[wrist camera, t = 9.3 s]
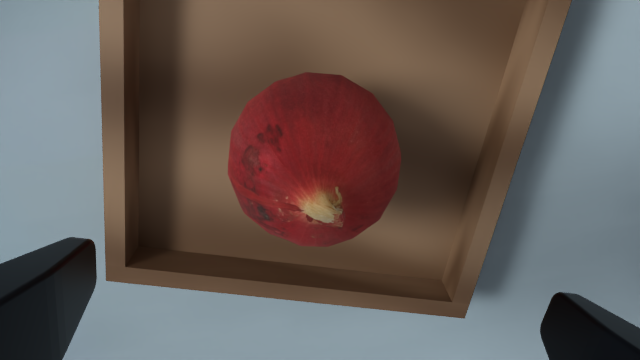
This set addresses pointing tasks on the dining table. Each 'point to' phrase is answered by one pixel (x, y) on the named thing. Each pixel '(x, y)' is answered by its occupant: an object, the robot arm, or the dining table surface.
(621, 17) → the dining table surface
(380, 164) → the onion
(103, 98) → the tray
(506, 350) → the dining table surface
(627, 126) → the dining table surface
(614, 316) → the robot arm
